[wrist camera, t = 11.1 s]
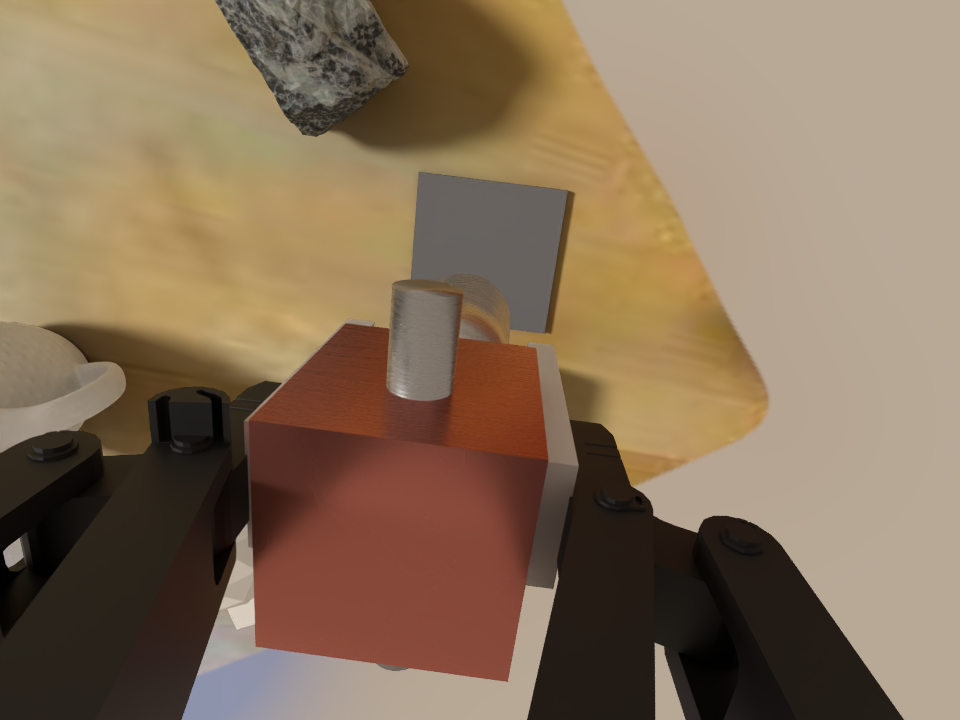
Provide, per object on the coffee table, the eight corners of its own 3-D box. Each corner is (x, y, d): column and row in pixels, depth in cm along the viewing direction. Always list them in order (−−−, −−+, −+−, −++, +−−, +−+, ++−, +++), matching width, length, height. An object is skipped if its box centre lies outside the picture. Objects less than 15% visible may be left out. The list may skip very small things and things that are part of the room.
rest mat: (419, 172, 34) (418, 172, 33) (567, 190, 34) (567, 190, 33) (409, 314, 37) (408, 315, 37) (544, 331, 37) (544, 333, 36)
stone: (135, 17, 23) (376, 10, 22) (190, -138, 26) (400, -149, 25) (243, 172, 32) (417, 171, 31) (274, 41, 35) (431, 37, 34)
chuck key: (416, 207, 21) (244, 300, 7) (535, 223, 21) (570, 343, 7) (402, 403, 23) (258, 719, 10) (506, 417, 23) (494, 752, 10)
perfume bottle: (147, 469, 40) (204, 586, 46) (106, 561, 32) (181, 689, 38) (270, 439, 42) (311, 555, 47) (261, 519, 34) (311, 648, 39)
